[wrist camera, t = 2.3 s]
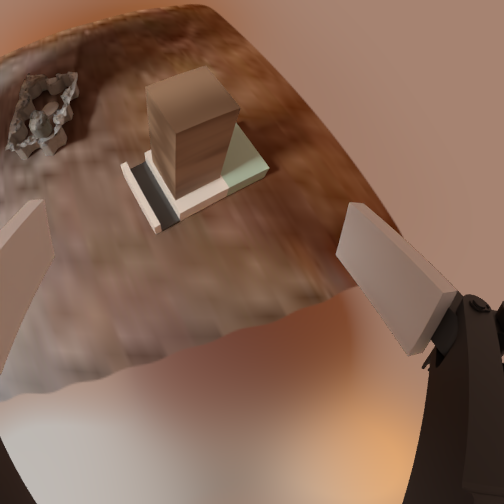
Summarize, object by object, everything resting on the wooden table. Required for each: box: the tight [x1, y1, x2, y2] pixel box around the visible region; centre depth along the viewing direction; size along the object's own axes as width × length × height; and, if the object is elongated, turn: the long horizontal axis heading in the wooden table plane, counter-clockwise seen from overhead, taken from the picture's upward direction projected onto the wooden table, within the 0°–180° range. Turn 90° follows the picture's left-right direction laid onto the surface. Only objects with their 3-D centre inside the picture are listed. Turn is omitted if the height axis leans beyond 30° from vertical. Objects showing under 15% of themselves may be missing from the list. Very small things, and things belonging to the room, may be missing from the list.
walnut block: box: [145, 66, 240, 201], centre depth 22 cm, size 4×4×10 cm
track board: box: [121, 123, 269, 235], centre depth 28 cm, size 7×12×2 cm, turn 123°
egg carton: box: [5, 72, 79, 159], centre depth 26 cm, size 11×8×4 cm
